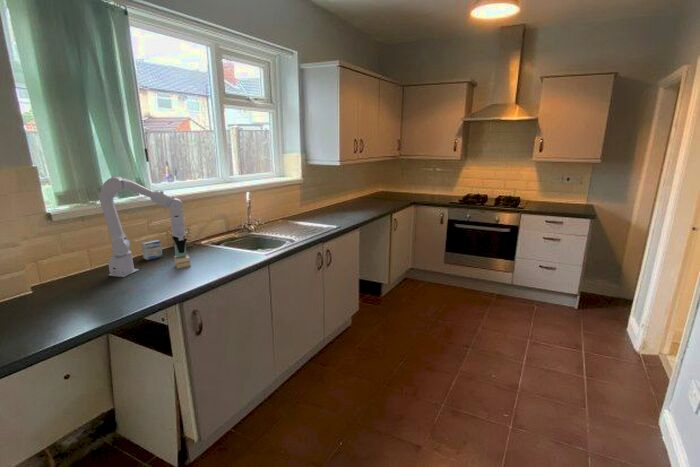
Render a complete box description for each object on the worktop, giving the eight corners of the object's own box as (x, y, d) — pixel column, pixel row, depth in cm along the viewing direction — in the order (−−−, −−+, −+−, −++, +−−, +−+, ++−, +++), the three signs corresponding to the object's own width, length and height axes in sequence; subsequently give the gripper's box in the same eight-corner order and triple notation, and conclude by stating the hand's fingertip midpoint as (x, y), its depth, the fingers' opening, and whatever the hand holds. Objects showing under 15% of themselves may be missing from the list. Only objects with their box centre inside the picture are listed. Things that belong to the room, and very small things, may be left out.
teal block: (186, 255, 179) (185, 244, 177) (176, 257, 177) (175, 246, 175) (185, 253, 183) (184, 242, 181) (175, 254, 180) (174, 243, 179)
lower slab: (190, 267, 180) (190, 262, 180) (177, 269, 177) (176, 264, 177) (188, 263, 185) (188, 259, 185) (175, 265, 182) (175, 261, 182)
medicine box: (147, 260, 189) (145, 244, 187) (143, 258, 192) (141, 242, 190) (162, 256, 195) (160, 240, 193) (158, 255, 198) (156, 239, 196)
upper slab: (189, 262, 180) (189, 257, 179) (176, 264, 177) (175, 259, 176) (187, 259, 185) (187, 254, 184) (174, 261, 182) (174, 256, 181)
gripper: (189, 226, 172) (192, 254, 175) (184, 220, 184) (187, 246, 187) (172, 227, 168) (175, 256, 172) (168, 221, 180) (172, 248, 184)
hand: (180, 251), depth 179 cm, fingers closed on teal block, 4 cm apart
